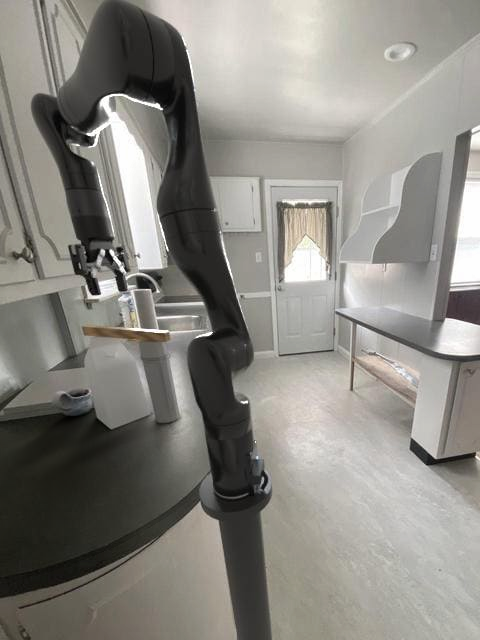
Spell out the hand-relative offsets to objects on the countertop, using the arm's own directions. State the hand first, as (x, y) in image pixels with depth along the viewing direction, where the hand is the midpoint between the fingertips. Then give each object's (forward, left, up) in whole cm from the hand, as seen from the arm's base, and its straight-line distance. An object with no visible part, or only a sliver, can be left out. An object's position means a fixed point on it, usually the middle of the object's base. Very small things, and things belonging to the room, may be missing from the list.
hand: (110, 293), depth 72 cm
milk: (+12, -9, -39) cm, 42 cm away
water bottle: (-4, -7, -39) cm, 39 cm away
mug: (+28, -9, -39) cm, 49 cm away
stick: (+4, -8, -13) cm, 16 cm away
